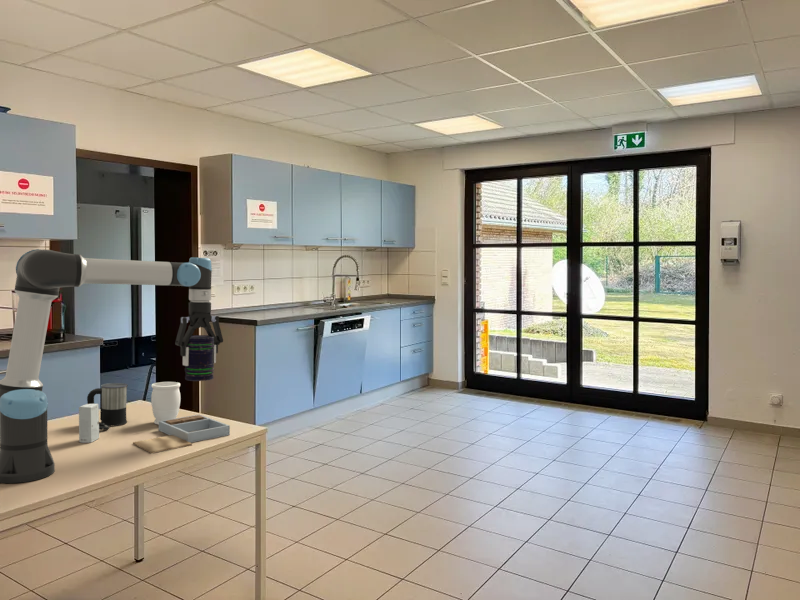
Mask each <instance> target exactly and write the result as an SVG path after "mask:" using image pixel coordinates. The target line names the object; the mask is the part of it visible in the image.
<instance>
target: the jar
mask: <svg viewBox="0 0 800 600" xmlns="http://www.w3.org/2000/svg"><path fill="white" fill-rule="evenodd" d="M180 387H181V383H180V382H178V381H177V382H176V381H160V382H153V383H152V384H151V388H152V390H151V391H152V392H151V395H150V400H151V402H150V404H151V407H152V409H151V410H152V414H153V417H154V418H155V419H154V421H153V423H154V424H155V425H158V426H159V421H163V420H169V419H175V418H178V414H179V412H180V406H181V392H180Z"/></svg>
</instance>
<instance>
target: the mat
mask: <svg viewBox="0 0 800 600" xmlns="http://www.w3.org/2000/svg"><path fill="white" fill-rule="evenodd" d="M132 445H134V446H136V447H138V448H140V449H141V450H144V451H146V452H148V453H150V454H154V453H159V452H165V451H169V450H175V449H179V448H185V447H189V446H193V442H191V443H190V442H188V441H186V440H183V439H181V438H179V437H176V436H174V435H165V436H160V437H153V438H149V439H143V440H139V441H133V442H132Z"/></svg>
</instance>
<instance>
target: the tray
mask: <svg viewBox="0 0 800 600" xmlns="http://www.w3.org/2000/svg"><path fill="white" fill-rule="evenodd" d="M196 415H197V414H194V415H192V416H196ZM199 415H200V416H203V417H204V419H203V420H198V421H192V422H186V423H180V424H175V425H170V424H167V423H166V420H163V421H159V425H158V431H159V432H160V433H161V432H162V433H164V434H166V435H167V436H169V435H174V436H176V437H179V438H181V439H183V440H186V441H188V442H190V443H196V442H200V441H206V440H211V439H216V438H221V437H226V436H230V435H231V433H230V431H231V430H230V429H231V426H230V425H229V424H227V423H224V422H221V421H218V420H215V419H214V418H213V419H212V418H210V417H207V416H204V415H202V414H199ZM189 416H190V415H188V416H186V417H189ZM184 417H185V416H182V417H176V418H175V419H179V418H184ZM169 420H172V419H169Z"/></svg>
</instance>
